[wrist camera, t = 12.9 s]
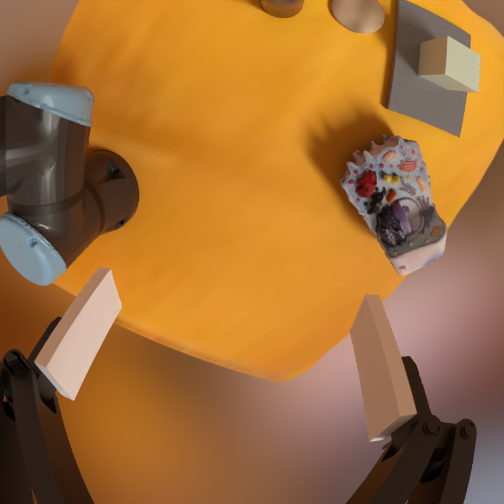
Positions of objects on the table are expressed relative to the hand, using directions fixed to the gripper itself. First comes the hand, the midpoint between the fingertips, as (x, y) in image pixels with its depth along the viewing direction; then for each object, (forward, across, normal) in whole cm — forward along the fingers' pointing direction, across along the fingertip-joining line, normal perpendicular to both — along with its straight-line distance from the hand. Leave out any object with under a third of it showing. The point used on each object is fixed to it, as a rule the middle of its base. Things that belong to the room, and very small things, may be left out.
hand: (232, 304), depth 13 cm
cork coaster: (+31, +12, +26) cm, 42 cm away
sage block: (+29, +25, +20) cm, 43 cm away
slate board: (+30, +25, +20) cm, 44 cm away
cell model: (+30, +21, -2) cm, 37 cm away
